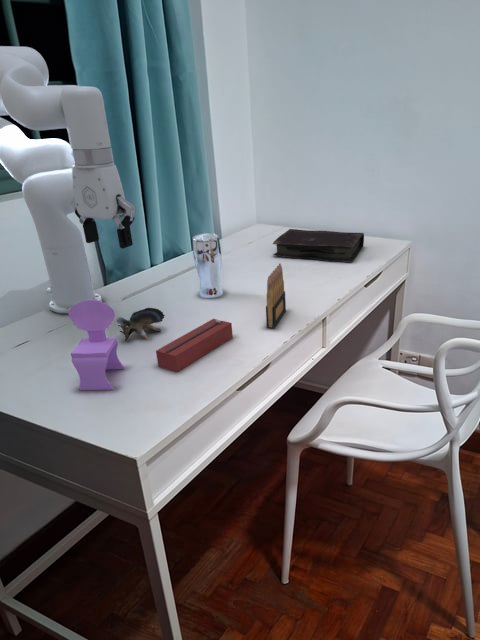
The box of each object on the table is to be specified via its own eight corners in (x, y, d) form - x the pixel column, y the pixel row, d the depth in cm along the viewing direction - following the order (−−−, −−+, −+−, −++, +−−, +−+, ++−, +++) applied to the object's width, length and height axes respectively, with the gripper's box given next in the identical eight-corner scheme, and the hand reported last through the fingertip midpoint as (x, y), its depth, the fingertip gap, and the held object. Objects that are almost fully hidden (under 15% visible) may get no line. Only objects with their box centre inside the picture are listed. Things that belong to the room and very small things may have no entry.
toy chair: (72, 391, 99) (53, 315, 91) (88, 368, 106) (71, 296, 99) (118, 390, 99) (102, 314, 91) (130, 368, 106) (116, 295, 99)
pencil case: (158, 366, 107) (155, 348, 105) (214, 333, 120) (213, 316, 118) (177, 372, 104) (174, 353, 102) (232, 337, 118) (231, 320, 116)
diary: (290, 242, 183) (290, 227, 180) (363, 246, 176) (364, 231, 173) (272, 258, 168) (271, 242, 165) (351, 263, 161) (352, 247, 158)
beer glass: (220, 299, 138) (214, 240, 130) (194, 298, 139) (187, 240, 131) (228, 290, 143) (223, 233, 136) (203, 289, 145) (197, 232, 137)
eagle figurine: (138, 344, 113) (171, 323, 118) (118, 315, 112) (153, 295, 116) (128, 351, 119) (159, 332, 124) (108, 324, 118) (141, 305, 123)
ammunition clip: (274, 328, 121) (272, 277, 115) (266, 328, 121) (263, 276, 115) (286, 311, 130) (284, 262, 124) (278, 310, 130) (276, 261, 124)
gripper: (47, 158, 107) (67, 244, 116) (111, 162, 100) (127, 253, 109) (76, 153, 113) (93, 235, 122) (139, 157, 106) (152, 244, 114)
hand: (109, 244), depth 115 cm, fingers open, 9 cm apart
